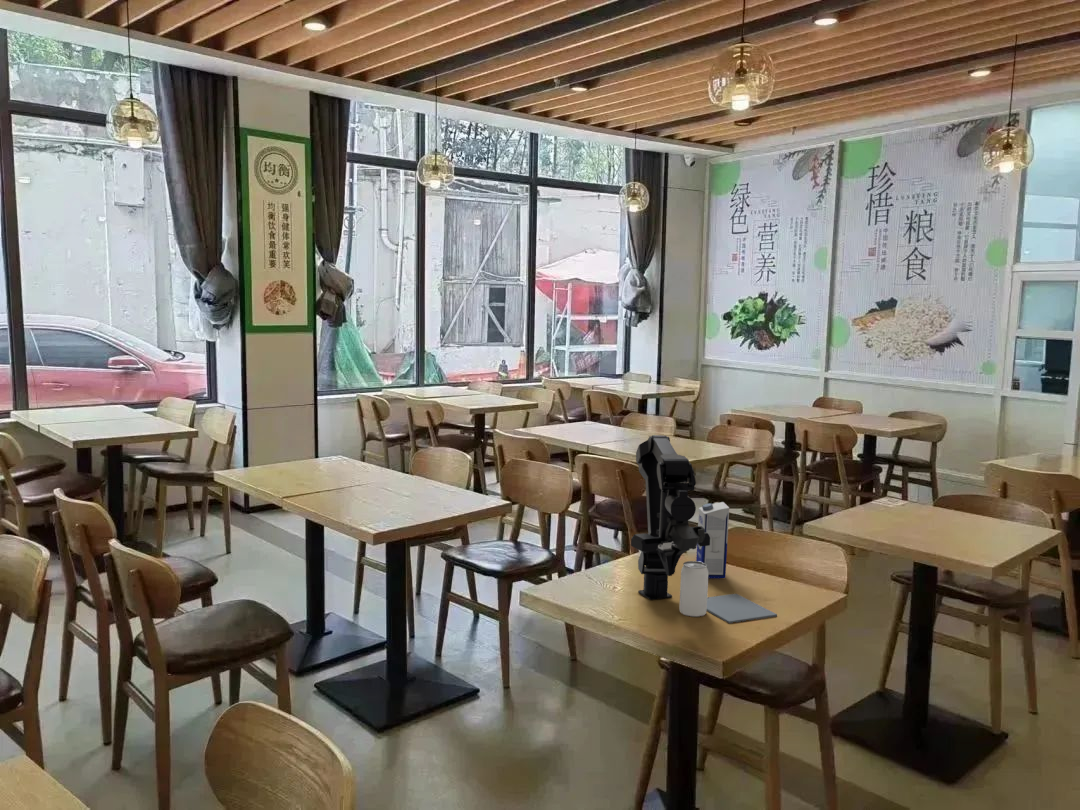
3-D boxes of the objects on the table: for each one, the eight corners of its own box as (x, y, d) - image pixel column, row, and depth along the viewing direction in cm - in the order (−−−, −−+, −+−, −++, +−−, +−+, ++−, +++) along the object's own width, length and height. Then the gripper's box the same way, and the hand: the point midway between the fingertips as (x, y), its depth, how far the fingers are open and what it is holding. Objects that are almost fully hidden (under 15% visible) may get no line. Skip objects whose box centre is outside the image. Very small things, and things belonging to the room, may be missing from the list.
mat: (690, 601, 217) (690, 599, 217) (736, 595, 223) (736, 593, 223) (729, 623, 203) (729, 621, 203) (776, 616, 208) (777, 614, 208)
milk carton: (725, 578, 237) (729, 506, 234) (701, 578, 236) (704, 506, 234) (719, 570, 244) (723, 501, 241) (695, 570, 243) (699, 500, 241)
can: (679, 607, 213) (682, 559, 212) (706, 609, 212) (709, 561, 210) (678, 616, 207) (680, 567, 205) (706, 618, 205) (708, 569, 204)
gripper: (656, 521, 192) (653, 590, 194) (726, 515, 200) (722, 581, 202) (631, 510, 202) (628, 575, 204) (698, 505, 210) (695, 568, 212)
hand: (669, 575), depth 205 cm, fingers closed
